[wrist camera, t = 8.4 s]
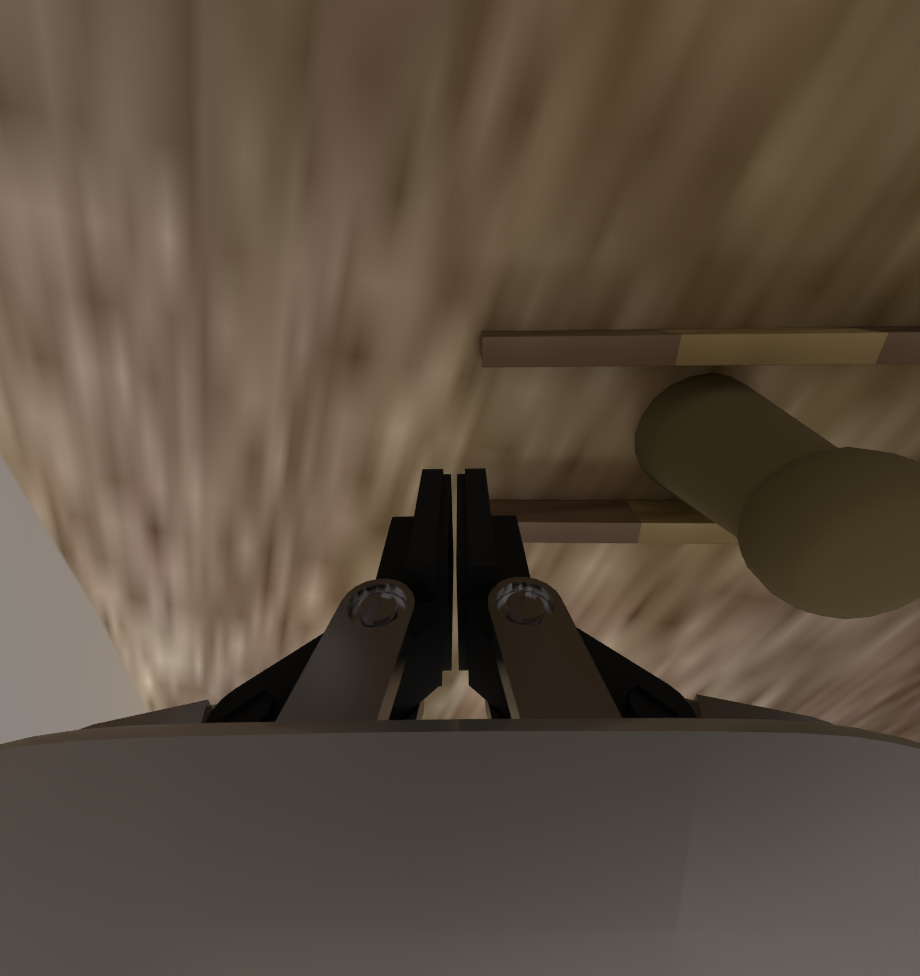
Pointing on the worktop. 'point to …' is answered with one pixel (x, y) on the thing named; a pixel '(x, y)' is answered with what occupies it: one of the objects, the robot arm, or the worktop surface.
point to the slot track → (670, 349)
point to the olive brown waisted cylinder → (789, 497)
